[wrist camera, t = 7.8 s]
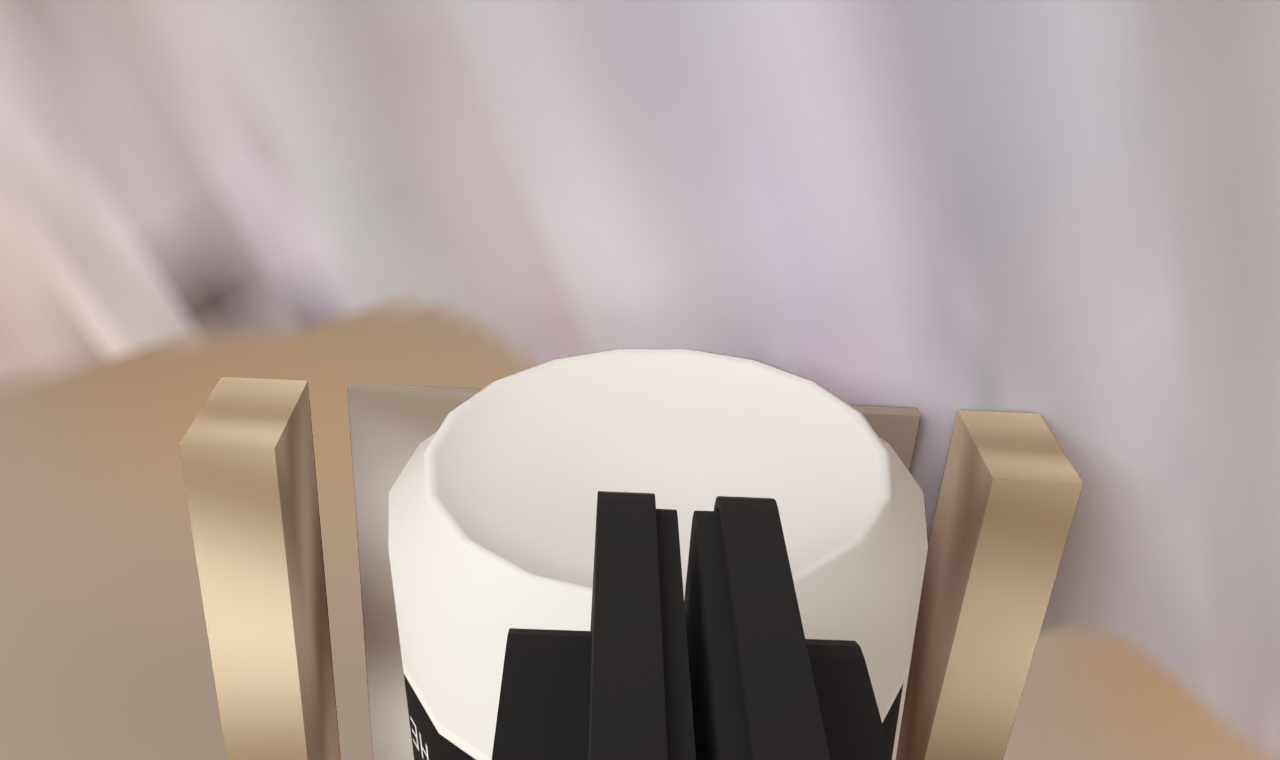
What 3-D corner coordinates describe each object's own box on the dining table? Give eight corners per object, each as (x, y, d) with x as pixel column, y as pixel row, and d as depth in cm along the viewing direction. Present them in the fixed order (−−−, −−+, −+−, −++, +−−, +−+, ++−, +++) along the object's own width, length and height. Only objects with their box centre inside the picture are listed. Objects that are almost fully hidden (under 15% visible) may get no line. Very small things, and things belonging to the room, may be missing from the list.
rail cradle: (221, 376, 22) (178, 444, 20) (1039, 413, 22) (1083, 482, 20) (285, 878, 28) (258, 969, 26) (914, 895, 29) (937, 984, 27)
